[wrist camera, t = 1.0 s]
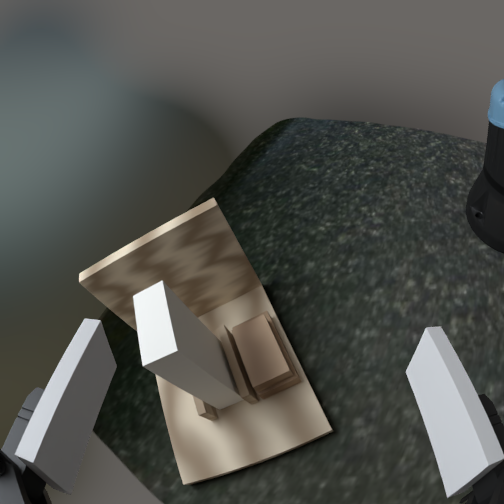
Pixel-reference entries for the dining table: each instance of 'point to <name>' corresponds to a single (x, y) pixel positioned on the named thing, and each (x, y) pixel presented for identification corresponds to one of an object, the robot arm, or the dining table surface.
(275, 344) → the walnut offcuts
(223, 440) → the maple rack
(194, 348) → the white block
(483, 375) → the dining table surface
